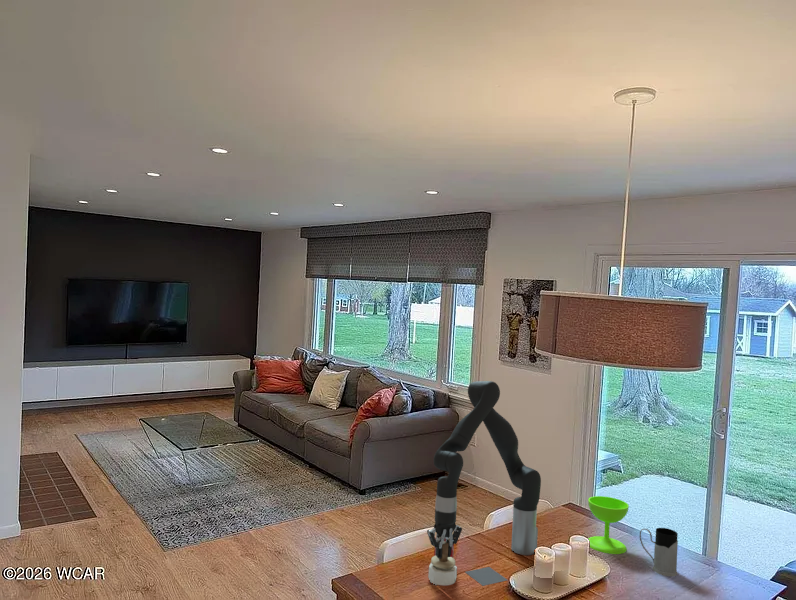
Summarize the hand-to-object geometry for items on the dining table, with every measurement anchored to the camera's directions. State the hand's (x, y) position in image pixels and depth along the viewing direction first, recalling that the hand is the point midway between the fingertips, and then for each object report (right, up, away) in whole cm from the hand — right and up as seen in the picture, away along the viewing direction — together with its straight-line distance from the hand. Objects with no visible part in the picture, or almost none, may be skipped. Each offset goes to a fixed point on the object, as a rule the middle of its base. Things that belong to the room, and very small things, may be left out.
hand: (443, 556), depth 199 cm
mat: (+16, -9, +4) cm, 18 cm away
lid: (0, -2, 0) cm, 2 cm away
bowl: (0, -8, 0) cm, 8 cm away
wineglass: (+71, -13, +38) cm, 81 cm away
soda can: (+1, -9, +10) cm, 14 cm away
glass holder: (+84, -13, +18) cm, 87 cm away
